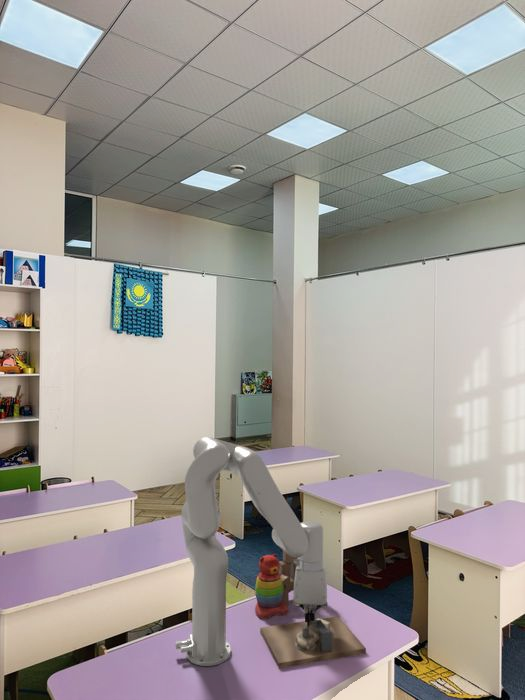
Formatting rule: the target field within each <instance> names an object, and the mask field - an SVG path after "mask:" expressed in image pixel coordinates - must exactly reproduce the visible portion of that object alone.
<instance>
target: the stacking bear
mask: <svg viewBox="0 0 525 700" xmlns="http://www.w3.org/2000/svg"><path fill="white" fill-rule="evenodd" d="M258 568H259V570H260V572H259V573H258V574H257V577H256V582H255V587H254V591H255V592H254V594H255V598H256V604H255V608H254V609H255V611H254V612H255V614H256V616H257V617H258V618H260V619H262V620H264V619H269V618H271V617H272V616H276V615H278V616H279V615H280V616H282V615H283V616H284V615H287V614H288V613H289V607H288V606H286V605H285V604H284V603H283V602H282V596H283V584H282V580H281V577H280V574H279V568H280V564H279V559H278V555H277V554H276V553H274V554H266V555H263V556H262V557H260V558H259V563H258Z"/></svg>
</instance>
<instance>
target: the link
mask: <svg viewBox="0 0 525 700" xmlns="http://www.w3.org/2000/svg"><path fill="white" fill-rule="evenodd" d="M316 619H317V620H321V621H322V622H323V624H324V625H325V626H326V628H327V629H328V628H329V629H330V622H328V621H325V620H322V618H319V617H317V618H316ZM318 639H319V636H318V634H317V633H316V632H315V630H314V629H313V627H312V626H311V625H310V626H309V627H308V626H303V627H302V632H300V633H298V634H297V637H296V645H298V646H299V647H301V648H307V649H309V648H311V647H313V646H314V643H315V642H316V641H317V640H318Z"/></svg>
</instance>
